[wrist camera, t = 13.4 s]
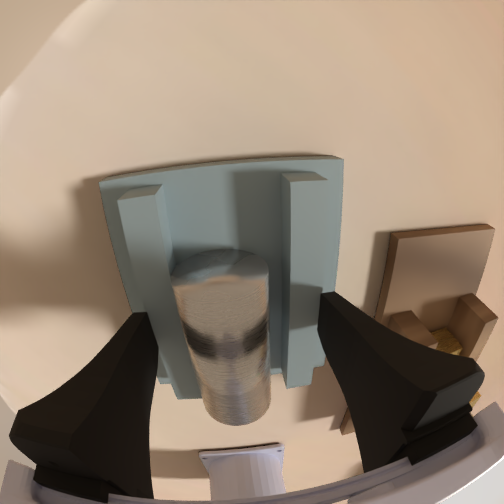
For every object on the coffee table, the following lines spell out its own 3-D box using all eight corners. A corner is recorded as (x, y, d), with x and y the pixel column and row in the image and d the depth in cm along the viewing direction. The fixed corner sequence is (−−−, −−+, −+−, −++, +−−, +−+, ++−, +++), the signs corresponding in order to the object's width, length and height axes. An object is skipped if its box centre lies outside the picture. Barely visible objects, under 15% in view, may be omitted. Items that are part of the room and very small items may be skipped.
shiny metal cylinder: (274, 376, 15) (265, 429, 12) (213, 370, 16) (195, 419, 13) (273, 250, 12) (260, 302, 9) (190, 247, 13) (154, 294, 9)
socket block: (415, 403, 24) (431, 430, 20) (339, 429, 23) (351, 462, 19) (487, 224, 15) (527, 249, 11) (391, 232, 14) (435, 269, 10)
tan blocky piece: (433, 356, 18) (470, 409, 13) (397, 368, 18) (433, 429, 13) (445, 327, 17) (490, 382, 12) (409, 339, 17) (453, 403, 11)
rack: (319, 354, 17) (331, 384, 15) (161, 371, 16) (157, 404, 14) (334, 155, 12) (361, 166, 10) (107, 177, 11) (82, 192, 9)
